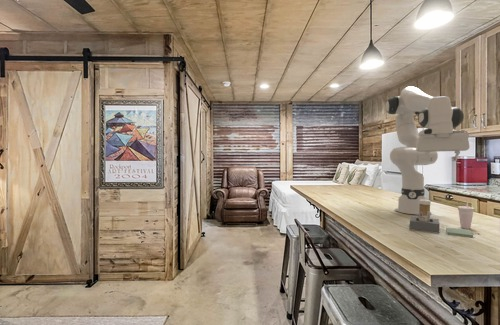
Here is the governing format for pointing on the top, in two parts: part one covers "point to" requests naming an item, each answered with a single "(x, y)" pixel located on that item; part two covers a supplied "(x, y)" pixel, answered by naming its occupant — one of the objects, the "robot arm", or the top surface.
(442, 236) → the top surface
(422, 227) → the socket block
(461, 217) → the smoothie
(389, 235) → the top surface
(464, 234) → the rubber mat
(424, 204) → the sprinkles bottle
